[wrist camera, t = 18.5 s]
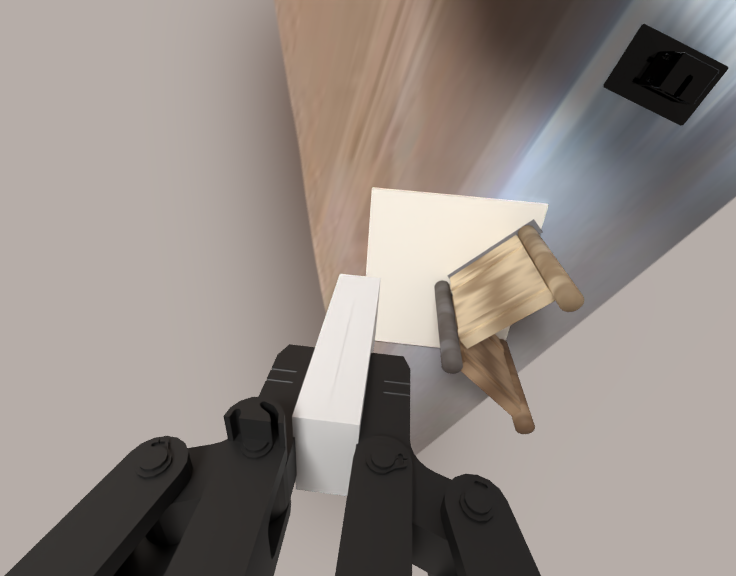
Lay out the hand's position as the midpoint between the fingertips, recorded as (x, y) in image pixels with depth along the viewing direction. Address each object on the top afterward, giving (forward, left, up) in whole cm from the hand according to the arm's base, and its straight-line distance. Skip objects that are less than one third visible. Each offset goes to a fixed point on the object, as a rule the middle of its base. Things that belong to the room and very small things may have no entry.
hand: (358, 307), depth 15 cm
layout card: (+16, +8, -32) cm, 37 cm away
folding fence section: (+22, +14, -31) cm, 40 cm away
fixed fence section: (+13, +12, -32) cm, 36 cm away
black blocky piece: (-8, +25, -33) cm, 42 cm away
